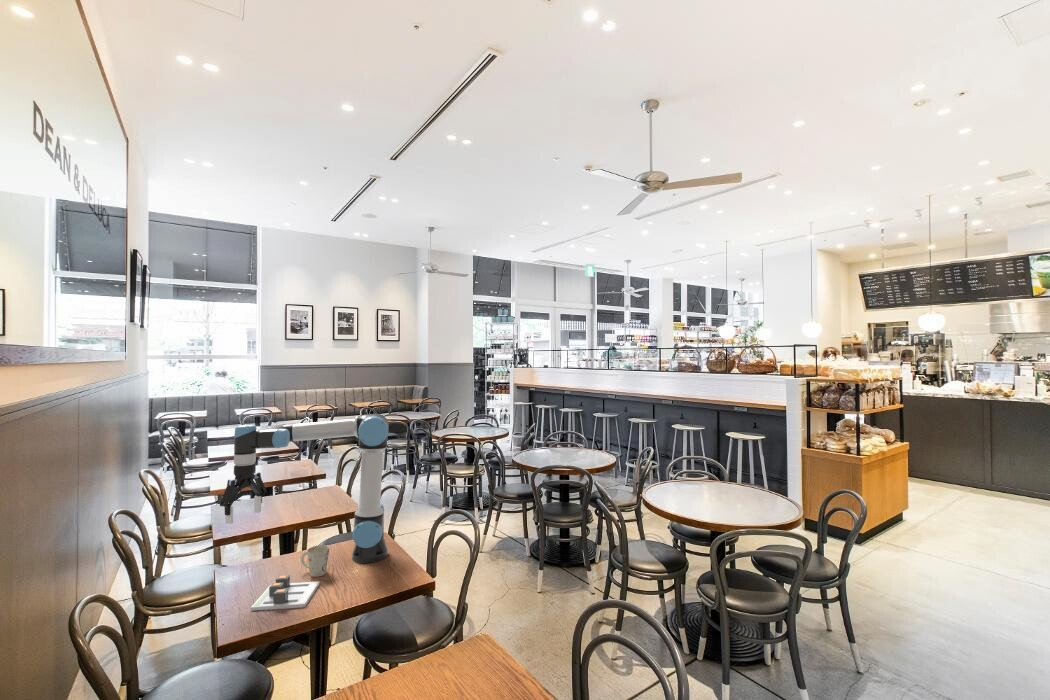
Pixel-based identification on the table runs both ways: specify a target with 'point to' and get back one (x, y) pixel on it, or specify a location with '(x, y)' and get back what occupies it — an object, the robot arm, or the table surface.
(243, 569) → the table surface
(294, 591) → the panel
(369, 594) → the table surface
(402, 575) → the table surface
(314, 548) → the mug
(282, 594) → the block
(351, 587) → the table surface
